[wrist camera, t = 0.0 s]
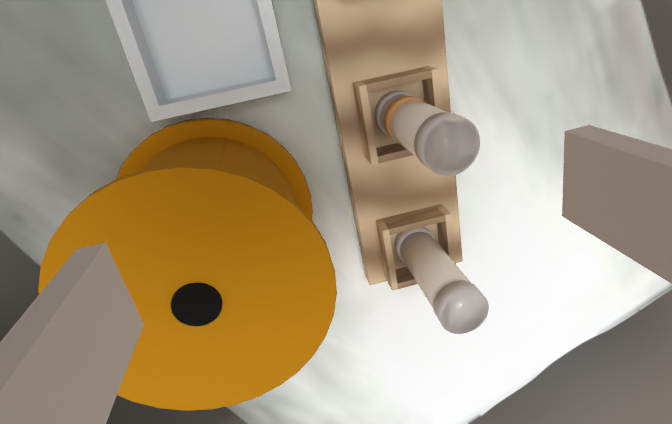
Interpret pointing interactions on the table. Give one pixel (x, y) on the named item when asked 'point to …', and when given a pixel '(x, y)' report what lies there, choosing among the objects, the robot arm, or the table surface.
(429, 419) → the table surface
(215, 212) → the spool
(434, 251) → the fuse
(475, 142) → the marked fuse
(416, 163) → the fuse block
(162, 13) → the tray
